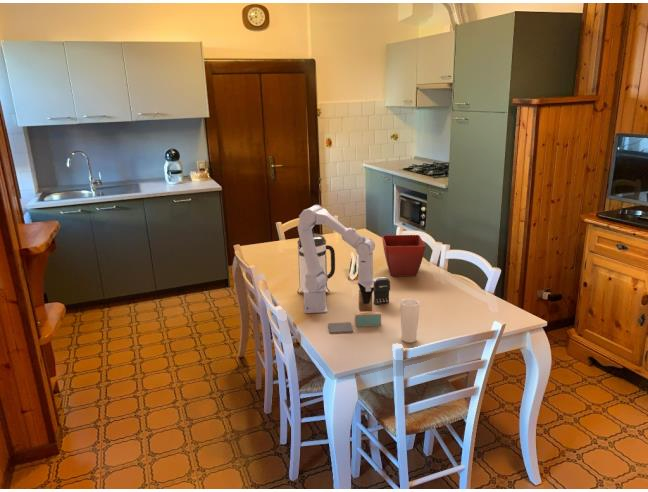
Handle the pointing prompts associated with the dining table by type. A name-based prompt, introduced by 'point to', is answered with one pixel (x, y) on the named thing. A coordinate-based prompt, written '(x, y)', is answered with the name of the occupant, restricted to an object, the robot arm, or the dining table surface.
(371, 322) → the tile
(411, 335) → the drinking glass
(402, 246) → the plant pot
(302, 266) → the coffee press
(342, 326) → the mat
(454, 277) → the dining table surface
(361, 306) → the brown rectangular block
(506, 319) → the dining table surface
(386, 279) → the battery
